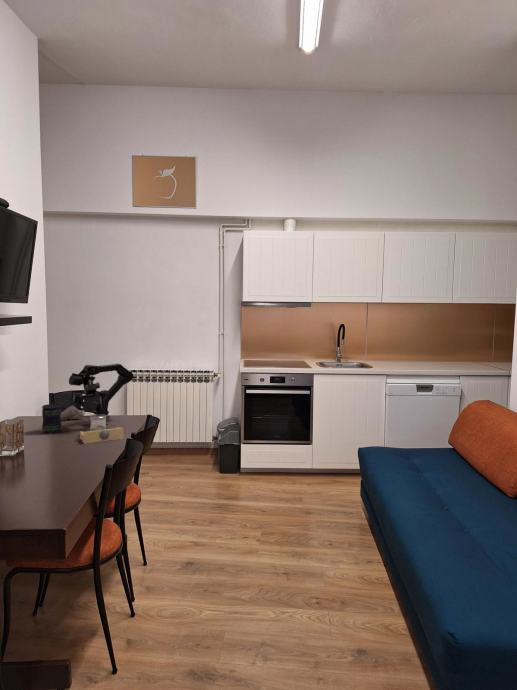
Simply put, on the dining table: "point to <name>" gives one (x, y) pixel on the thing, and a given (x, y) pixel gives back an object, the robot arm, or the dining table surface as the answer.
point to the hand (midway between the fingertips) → (93, 408)
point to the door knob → (98, 422)
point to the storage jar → (51, 418)
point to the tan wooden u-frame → (102, 435)
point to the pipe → (71, 413)
